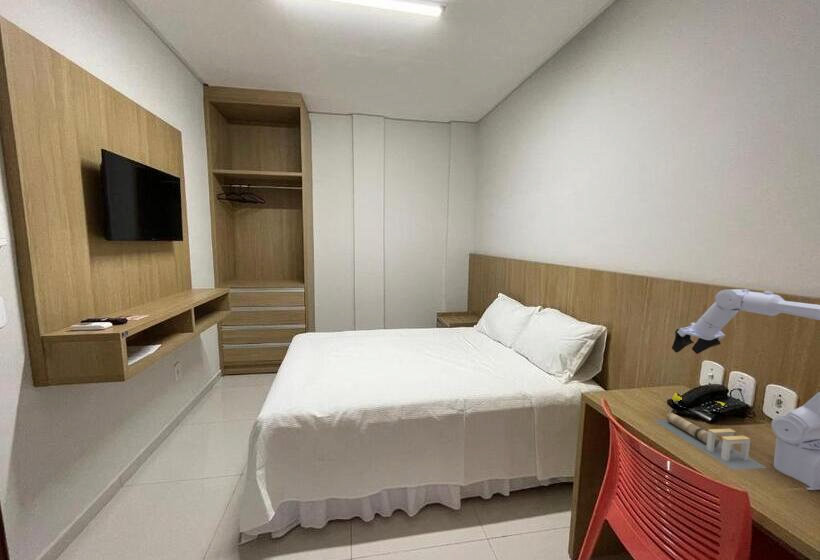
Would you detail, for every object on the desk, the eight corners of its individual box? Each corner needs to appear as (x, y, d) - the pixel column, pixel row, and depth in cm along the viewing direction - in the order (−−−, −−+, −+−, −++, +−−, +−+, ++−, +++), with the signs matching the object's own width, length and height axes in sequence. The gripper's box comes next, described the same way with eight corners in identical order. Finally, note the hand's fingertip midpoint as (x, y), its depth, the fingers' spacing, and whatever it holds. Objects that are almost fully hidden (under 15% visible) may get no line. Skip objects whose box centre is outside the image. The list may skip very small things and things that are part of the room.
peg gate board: (767, 470, 86) (770, 445, 85) (733, 472, 85) (735, 447, 84) (679, 421, 110) (681, 402, 110) (652, 422, 109) (653, 402, 109)
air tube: (718, 446, 95) (720, 435, 94) (708, 447, 94) (709, 436, 94) (674, 422, 109) (676, 412, 108) (665, 422, 108) (666, 412, 108)
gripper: (722, 314, 106) (694, 343, 114) (682, 311, 104) (657, 340, 112) (741, 330, 100) (710, 359, 108) (699, 327, 99) (671, 356, 107)
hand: (684, 350), depth 110 cm, fingers open, 7 cm apart
